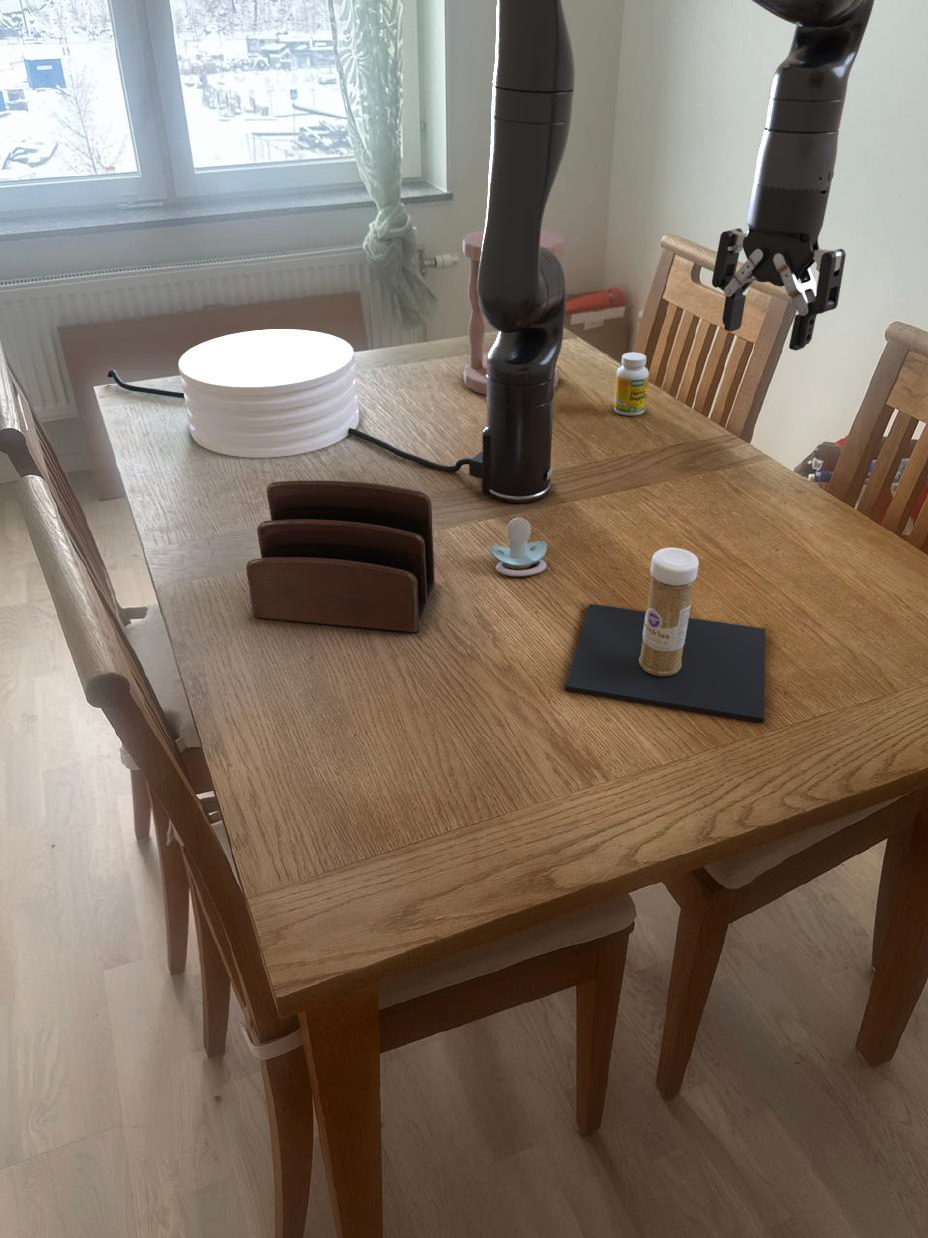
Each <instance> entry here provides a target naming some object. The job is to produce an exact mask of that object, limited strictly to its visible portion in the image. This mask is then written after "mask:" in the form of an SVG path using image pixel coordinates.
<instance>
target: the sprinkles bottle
mask: <svg viewBox="0 0 928 1238" xmlns="http://www.w3.org/2000/svg"><path fill="white" fill-rule="evenodd" d="M699 565H700V563H699V559H698V557H697V555H695V554H694V553H693V552H692V551H690V550H687V549H685V548H681V547H664V548H661V549H658V550H657V551H655V552H654V553H653V555H652V557H651V562H650V577H651V579H650V584H649V591H648V597H647V605H646V611H645V612H646V615H645V622H644V629H643V642H642V648H641V655H640V657H639V664H640V666H641V667H642V668H643V670H644V671H646V672H648V673H650V674H652V675H655V676H670V675H673V674H675V673H677V672H678V671H679V670H680V668H681V665H682V664H681V657H682V652H683V645H684V643H685V637H686V631H687V625H688V619H689V618H690V612H691V607H692V606H691V605H692V596H693V590H694V584H695V581H696V579H697V577H698V571H699Z"/></svg>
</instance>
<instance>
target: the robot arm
mask: <svg viewBox="0 0 928 1238" xmlns="http://www.w3.org/2000/svg"><path fill="white" fill-rule="evenodd" d="M751 1H752V2H753V3H754V4H757V5H758V6H759V7H761V8H763V9H764V10H765V11H767V12H769V13H770V14H772V15H774V16H775V17H777V18H779V19H781V20H783V21H785V22H788V23H789V24H792V25H795V29H794V34H793V37H792V41H791V45H790V49H789V52H788V54H787V57H786V58H784V59H783V61H782V62H781V63H779V65H778V66H777V68H776V69H775V72H774V74H773V77H772V81H771V86H770V91H769V98H768V102H767V110H766V116H765V123H764V128H763V132H762V137H761V141H760V144H759V148H758V152H757V157H756V162H755V169H754V177H753V180H752V181H753V182H752V188H751V194H750V201H749V208H748V213H747V220H746V223H747V224H746V225H747V226H748V230H747V233H744V231H743V230H742V228H739V227H738V228H734V229H728V230H725V231H723V232H721V233H720V237H719V241H718V247H717V253H716V257H715V263H714V268H713V274H712V279H711V285H712V287H714V288H716V289H717V288H719V289H720V290H721V291H723V294H724V296H725V298H724V306H723V312H722V325H724V330H725V331H728V332H734V331H738V330H740V328H741V327H742V324H743V323H742V322H743V317H744V310H745V304H746V298H747V295H746V294H744V293H745V292H746V291H747V290H748V289H749V288H750V287H751V286H752V284H754V282H759V283H770V284H772V285H774V286H775V287H780V288H782V287H784V288H785V290H786V294H787V295H788V297H790V298H792V301H793V303H794V305H795V309H796V311H797V314H795V315H794V320H793V324H792V329H791V335H790V338H789V339H790V340H789V345H788V349H790V350H793V351H796V352H797V351H799V350H802V349H804V348H805V347H806V345H809V344H810V342H811V341H812V338H813V333H814V330H815V329H814V328H815V325H816V319H817V316H818V315H820V314H823V313H826V312H829V311H832V310H833V311H834V310H836V309H837V307H838V304H839V299H840V293H841V287H842V281H843V275H844V269H845V267H844V266H845V262H846V256H847V253H846V251H845V250H844V248H838V249H833V250H830V249H822V248H820V245H819V236H820V234H821V231H822V228H823V226H824V221H825V216H826V210H827V206H828V201H829V195H830V191H831V187H832V180H833V178H834V175H835V167H836V162H837V161H836V160H837V157H838V156H837V154H838V142H839V133H840V130H839V129H840V127H841V122H842V117H843V113H844V112H843V111H844V108H845V107H844V106H845V102H846V98H847V96H846V95H847V90H848V83H849V77H850V74H851V71H852V68H853V65H854V63H855V61H856V58H857V57H858V53H859V50H860V47H861V44H862V42H863V39H864V36H865V33H866V30H867V27H868V24H869V21H870V18H871V15H872V12H873V8H874V4H875V0H751ZM496 3H497V4H496V28H495V29H496V30H495V31H496V34H495V57H494V59H495V60H494V67H493V68H494V69H493V80H492V97H491V123H490V125H491V126H490V127H491V128H490V129H491V130H490V131H491V134H490V154H489V169H488V184H487V185H488V188H487V207H486V217H485V226H484V230H485V232H484V238H483V245H482V252H481V259H480V265H479V272H478V280H477V297H478V303H479V307H480V310H481V313H482V317H483V319H484V320H485V321H486V322H487V323H488V324H489V325H490V326H491V327H492V328H493V329H494V330H496V331H498V335H497V337H496V339H495V342H494V343H493V345H492V347H491V348H490V350H489V352H488V354H487V356H488V357H487V356H486V357H487V395H486V426H485V428H484V430H483V432H482V437H481V438H482V439H481V440H482V445H481V447H482V451H480V452H479V453H477V454H476V455H474V456H472V457H463V458H460V459H458V460H457V461H456V462H455V464H454V465H443V464H439V463H436V462H434V461H430V460H428V459H425V458H422V457H420V456H417V455H415V454H412V453H409V452H407V451H404V450H402V449H399V448H397V447H395V446H393V445H391V444H390V443H388V442H385V441H383V440H382V439H378V438H376V437H375V436H371V435H369V434H367V433H365V432H362V431H359V430H357V429H356V428H355V429H352V428H349V429H348V433H349V435H351V436H353V437H356V438H358V439H361V440H364V441H366V442H368V443H370V444H374V445H375V446H378V447H380V448H382V449H383V450H386V451H388V452H390V453H392V454H393V455H395V456H398V457H400V458H402V459H405V460H408V461H410V462H413V463H416V464H418V465H421V466H423V467H425V468H428V469H432V470H436V471H441V472H446V473H454V472H458V471H460V470H461V468H462V466H464V465H469V466H468V470H469V471H468V472H469V473H468V475H469V476H470V477H474V478H478V479H481V481H482V483H481V484H482V485H481V489H482V490H481V494H482V495H485V496H490V497H491V498H493V499H495V500H498V501H502V502H505V503H511V504H514V503H515V504H523V503H524V504H525V503H532V502H536V501H539V500H541V499H544V498H545V497H547V496H548V494H549V493H550V491H551V475H552V473H553V471H554V463H552V442H553V441H552V440H553V423H554V420H553V419H554V401H555V387H554V382H555V366H556V367H557V362H558V359H559V356H560V353H561V351H562V346H563V338H564V328H565V317H566V305H567V280H566V274H565V270H564V267H563V265H562V262H561V260H560V258H557V256H556V255H555V254H554V253H553V252H551V251H550V250H549V249H547V248H545V247H542V246H540V239H541V230H542V227H543V221H544V216H545V212H546V207H547V204H548V202H549V198H550V194H551V192H552V190H553V188H554V185H555V182H556V179H557V176H558V174H559V171H560V168H561V166H562V162H563V160H564V157H565V153H566V149H567V147H568V143H569V140H570V135H571V127H572V121H573V120H572V119H573V110H574V109H573V108H574V99H575V88H576V62H575V61H576V60H575V54H574V50H573V45H572V40H571V36H570V32H569V28H568V23H567V20H566V14H565V12H564V11H565V10H564V7H563V3H562V0H497V2H496ZM742 251H743V252H744V255H745V258H746V261H745V262H744V263H743V264H742V265H741V266H740V267H739V269H738V270H737V266H738V262H739V258H740V253H741V252H742ZM815 263H816V267H815V269H816V271H817V272H818V278H817V281H816V280H815V276H814V274H813V272H812V269H811V268H812V266H813V265H814V264H815ZM799 280H800V282H798V281H799ZM107 378H113V380H114V381H115V383H116V384H117V386H119V387H120V388H122V389H124V390H127V391H131V392H134V393H135V392H137V393H142V394H151V395H159V396H164V397H170V398H176V399H177V398H178V399H184V400H185V398H184V392H180V391H173V390H166V389H159V388H153V387H145V386H137V385H132V384H129V383H126V382H124V381H122V379H121V378H120V376H119V374H118V372H117V371H116V370H115V369H110V370H109V371H108V373H107ZM551 463H552V465H551Z"/></svg>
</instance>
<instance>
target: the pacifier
mask: <svg viewBox="0 0 928 1238" xmlns="http://www.w3.org/2000/svg"><path fill="white" fill-rule="evenodd" d="M531 528H532V527H531V525H530V522H529V521H528V520H526V519H525V518H523V517H515V518H513V519H512V520H510V521H509V523H508V525H507V528H506V534H507V537H508V539H509V547H506V546H502V545H490V546H489V547H488V548H489V552H490V554H491V555H492V556H493V558H495V559H496V560H497V561H498V563H497V565H496V566H495V570H496V571H497V572H498V573H499V574H501V575H505V576H508V577H529V576H533V575H537V574H540V573H542V572H543V571H545V570H546V568H547V563H546V561H545V560H543V557H544V556H545V555H546V553H547V551H548V545H547V542H546V541H544V540H535V541H531V542H529V543H528V540H529V539H530V536H531V533H532V532H531V531H532V529H531ZM532 549H534V550H532ZM533 564H536V566H535V567H532V568H529V567H531V566H532V565H533ZM527 568H528V569H527Z"/></svg>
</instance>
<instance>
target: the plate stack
mask: <svg viewBox="0 0 928 1238" xmlns="http://www.w3.org/2000/svg"><path fill="white" fill-rule="evenodd" d="M177 366H178V371H179V376H180V378H181V379H180V382H181V387H182V391H183V393H184V398H185V399H184V398H183V399H184V403H185V406H186V413H187V419H188V422H189V430H190V435H191V437H192V439H193V440H194V441H195V442H196V443H197V444H198V445H199V446H201V447H203V448H205V449H207V450H209V451H211V452H214V453H217V454H221V455H225V456H231V457H237V458H238V457H239V458H248V459H249V458H250V459H269V458H282V457H289V456H296V455H301V454H306V453H311V452H314V451H318V450H321V449H325V448H327V447H329V446H332V445H334V444H336V443H338V442H340V441H343V440H344V439H345V438H347V437H348V436H349V435H350V434H349V433H348V429H349V428H352V429H355V430H356V428H357V427H358V426H359V422H360V411H359V399H358V394H357V393H358V388H357V387H358V386H357V379H356V377H357V375H356V365H355V351H354V348H353V346H352V345H351V344H350V343H348V341H346V340H344V339H343V338H340V337H338V336H336V335H332V334H329V333H325V332H320V331H313V330H305V329H292V328H291V329H289V328H286V329H284V328H279V329H276V328H275V329H262V330H251V331H243V332H238V333H232V334H227V335H223V336H219V337H216V338H213V339H210V340H206V341H204V342H201V343H199V344H198V345H197V344H196V345H195V346H193V347H191V348H189V349H188V350H187V351H186V352H185V353H183V354H182V355H181V356H180V358H179V359H178V364H177Z"/></svg>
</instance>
